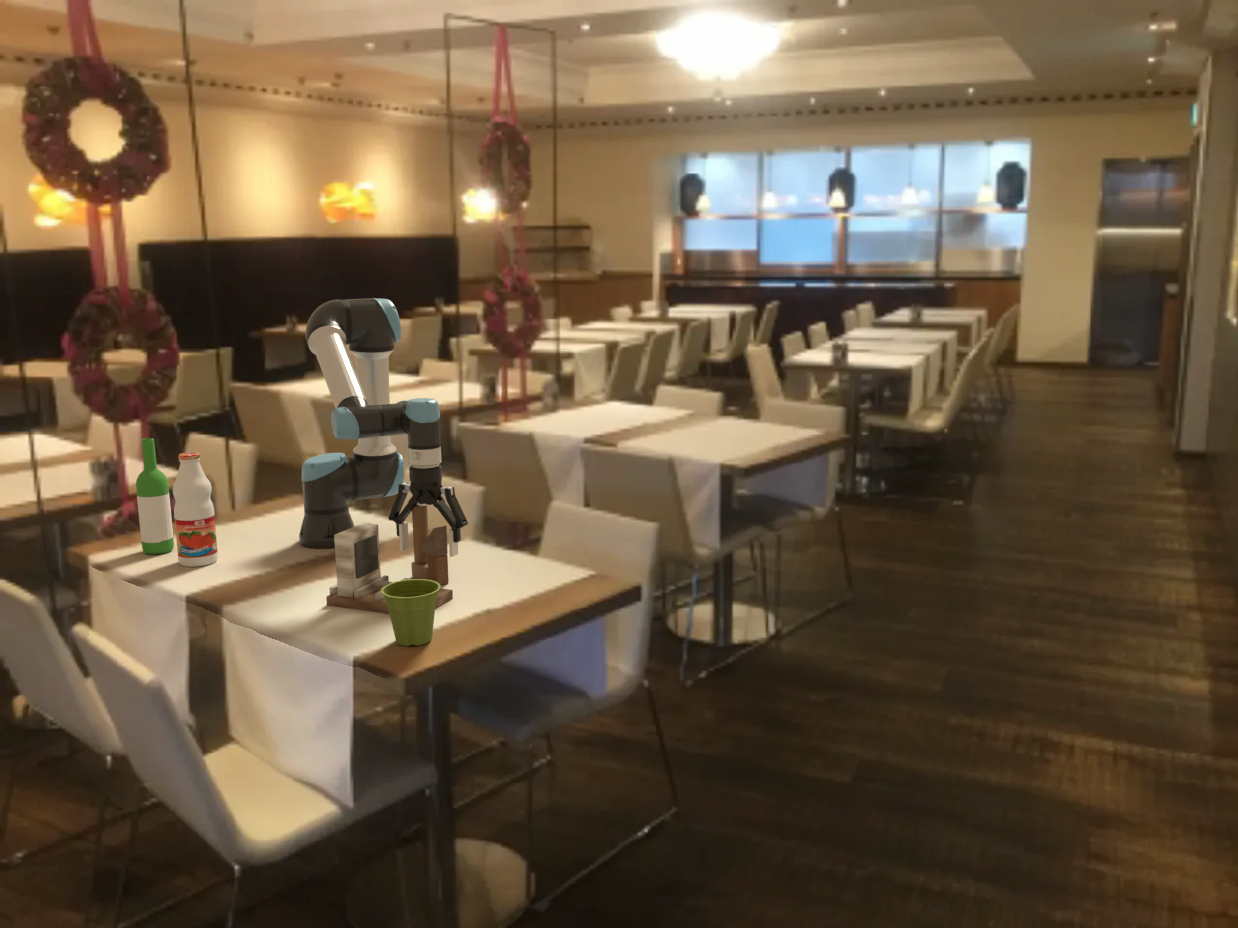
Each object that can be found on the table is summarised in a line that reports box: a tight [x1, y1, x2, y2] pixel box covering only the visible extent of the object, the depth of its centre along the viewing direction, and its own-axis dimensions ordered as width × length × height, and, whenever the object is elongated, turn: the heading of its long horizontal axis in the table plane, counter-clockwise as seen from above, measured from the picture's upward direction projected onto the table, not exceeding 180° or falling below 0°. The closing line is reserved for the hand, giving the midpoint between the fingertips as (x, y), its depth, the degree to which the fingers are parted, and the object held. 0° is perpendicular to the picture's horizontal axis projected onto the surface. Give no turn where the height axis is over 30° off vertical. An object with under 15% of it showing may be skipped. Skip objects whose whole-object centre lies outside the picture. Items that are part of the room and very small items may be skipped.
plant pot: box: [381, 578, 442, 647], centre depth 219 cm, size 12×12×11 cm
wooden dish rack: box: [325, 522, 454, 615], centre depth 243 cm, size 14×24×16 cm, turn 68°
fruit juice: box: [172, 451, 219, 568], centre depth 273 cm, size 9×9×28 cm
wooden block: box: [411, 503, 450, 586], centre depth 258 cm, size 4×11×18 cm, turn 43°
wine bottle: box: [135, 437, 175, 555], centre depth 282 cm, size 8×8×30 cm
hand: (429, 552), depth 258 cm, fingers open, 13 cm apart
